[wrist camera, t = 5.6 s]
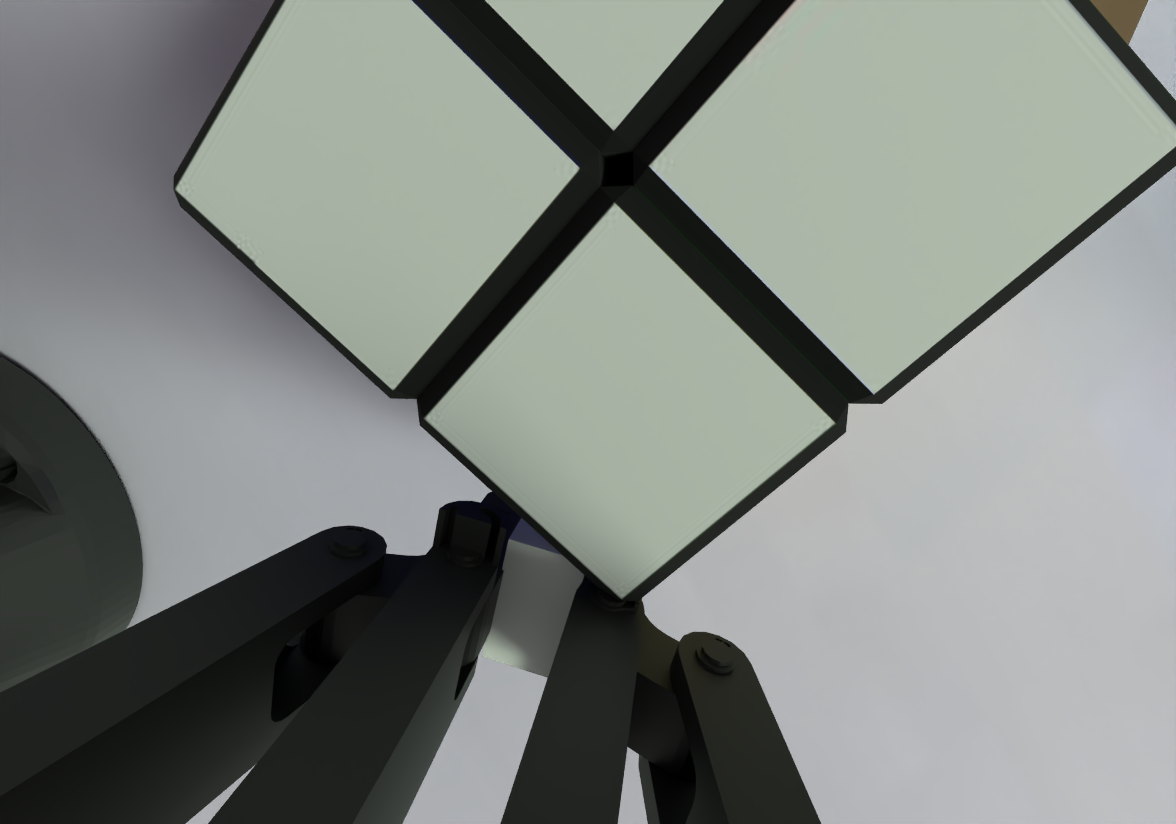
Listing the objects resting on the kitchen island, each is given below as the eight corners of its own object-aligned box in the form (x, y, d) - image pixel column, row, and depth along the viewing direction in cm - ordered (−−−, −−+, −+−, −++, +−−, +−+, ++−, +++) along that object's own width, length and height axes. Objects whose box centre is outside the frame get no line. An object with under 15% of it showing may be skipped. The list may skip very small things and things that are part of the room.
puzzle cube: (421, 209, 18) (145, 191, 9) (652, -96, 15) (597, -612, 6) (654, 431, 19) (624, 625, 10) (917, 186, 16) (1236, 132, 7)
